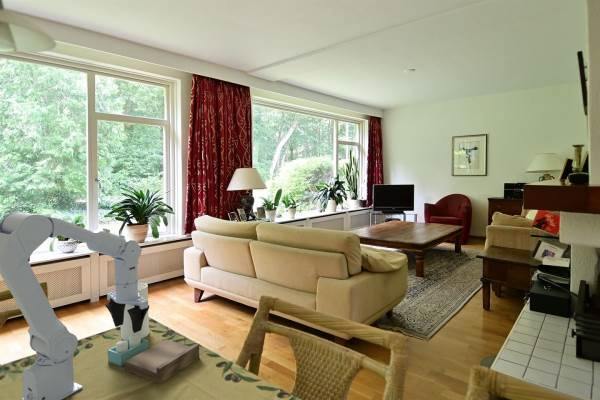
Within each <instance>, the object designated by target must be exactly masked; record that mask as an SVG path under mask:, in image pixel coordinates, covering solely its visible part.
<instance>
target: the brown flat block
mask: <svg viewBox="0 0 600 400" xmlns="http://www.w3.org/2000/svg"><path fill="white" fill-rule="evenodd" d="M199 358H200V344H199V343H194V344H193V345H191V346H190V345H186V344H183V343H180V342H177V341H174V340H170V339H164V340H162V341H160V342H158V343H156V344H154V345H153V346H151V347H149V349H147V350H145V351H143V352H141V353H139V354H138V355H136V356H134V357H132V358H130V359H128V360H126V361H125V365H124V368H125V372H129V373H131V374H134V375H136V376H139V377H142V378H144V379H147V380H149V381H152V382H154V383H156V384H161V385H162V384H163V383H164V382H166V380H168V379H170V378H172V376H175V375H176V374H177V373H178V372H180V371H182V370H183V369H185V368H186V367H188V366H190V365H191V364H193V363H194V362H195V361H197V360H198V359H199Z"/></svg>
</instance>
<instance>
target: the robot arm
mask: <svg viewBox="0 0 600 400" xmlns="http://www.w3.org/2000/svg"><path fill="white" fill-rule="evenodd" d="M59 236H60V237H64V238H68V239H71V240H75V241H79V242H81V243H85V244H86V247H87V249H88V250H90V251H93V252H96V253H99V254H102V255H105V256H108V257H111V258H112V259H114V264H113V265H114V289H115V291H111V292H108V293H106V297H107V299H106V300H107V301H108V302H107V303H105V306H104V307H105V308H106V309H107V310H108V312H109V314H110V316H111V318H112V322H113V324H114V327H115V328H118V327H121V325H123V322H124V309H125V305H126V304H129V305H133V306H134V308H131V309H129V310H127V312H128V313H129V315H130V318H131V321H132V329H133V333H136V332H138V331H141V328H142V324H143V320H144V317H145V315H146V313H147V311H148V312H149V309H150V305H149V299H148V300H145V299H144V298H142V297H141V293H138V283H139V282H138V281H139V280H138V279H139V278H138V277H139V276H138V264H139V258H140V257H141V255H142V252H143V249H142V248H141V247H140V244H139V243H138V241H136V240H133V239H126V236H125V235H122V234H119V235H117V234H115V233H112V232H111V230H110V229H109V228H104V227H103V228H102V229H101V228H97V229H95V230H93V231H91V230H90V229H86V228H84V227H82V226H79V225H77V224H74V223H72V222H69V221H66V220H64V219H61V218H57V217H51V216H45V215H44V214H40V213H27V212H26V211H25V212H24V211H21V210H20V211H19V210H18V211H17V210H16V211H12V212H9V213H8V214H6V215H5V216H4V217H3V218H2V219H1V220H0V275H1V277H2V279H3V281H4V283H5V285H6V286H7V288H8V291H9V293H10V294H11V296H12V297H13V299H14V301H15V303H16V305H17V306H18V309H19V310H20V312H21V314H22V316H23V317H24V320H25V321H26V323H27V325H28V327H29V328H28V329H27V333H28V334H29V347H30V348H31V350H32V351H34V352H35V354H36V355H35V362H33V364H32V365H30V366H28V367H27V368H25V369H23V371H22V375H21V380H22V394H23V397H22V398H21V400H64V399H65V398H67V397H69V396H71V395H72V394H74V393H76V392H78V391H81V390H82V389H83V385H82V384H79V383H77V382H75V378H74V377H75V376H74V375H75V374H74V372H75V371H74V356H73V355H74V353H75V352H76V350H77V348H78V346H79V340H78V338H77V335H75V333H71V332H70V331H69V329H68V328H67V326H66V325H65V324H64V323H63V322H62V321H61V320H60V319H59V318H58V317H57V315H56V313H55V311H54V309H53V307H52V305H51V303H50V301H49V299H48V298H47V297H48V296H47V295H46V294H45V291H44V290H43V288H42V285H41V284H40V282H39V280H38V278H37V275H36V273H35V272H34V270H33V268H32V266H31V264H30V262H29V259H30V257H31V256H32V254H33V253H34V252H35V251H36V250H37V249H38V248H39V247H40V246H41V245H42V244H44V243H45V242H46V241H47V240H48V239H49V238H51V239H55V238H57V237H59Z"/></svg>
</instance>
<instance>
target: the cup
mask: <svg viewBox="0 0 600 400" xmlns="http://www.w3.org/2000/svg"><path fill="white" fill-rule="evenodd" d="M148 286H149V285H148V283H146V282H138V293H141V297H142V298H144V299H145V300H148V301H149V289H148ZM131 308H134V306H133V305H129V304H126V305H125V309H124V322H123V325H121V326H120V338H121V340H122V341H127V340H129V337H130V336H132V335H140V337H141V338H142V339H145V338H146V337H147V336H149V333H150V325H149V324H150V322H149V321H150V320H149V310H148V311H147V313H146V315H145V317H144V320H143V324H142V328H141V331H138V332H136V333H133V329H132V321H131V318H130V315H129V313H128V312H127V310H129V309H131Z"/></svg>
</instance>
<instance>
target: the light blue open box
mask: <svg viewBox="0 0 600 400" xmlns="http://www.w3.org/2000/svg"><path fill="white" fill-rule="evenodd" d="M149 348H150V347H149V340H147V339H145V338H141V337H140V335H132V336H130V337H129V340H127V341H125V340H119V341H118V342H116V343H115V346H112V347H111V348H109V349H107V362H108V363H110V364H112V365H115V366H117V367H119V368H122V367H125V361H126V360H128V359H130V358H132V357H134V356H136V355H138V354H139V353H141V352H143V351H145V350H147V349H149Z"/></svg>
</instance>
